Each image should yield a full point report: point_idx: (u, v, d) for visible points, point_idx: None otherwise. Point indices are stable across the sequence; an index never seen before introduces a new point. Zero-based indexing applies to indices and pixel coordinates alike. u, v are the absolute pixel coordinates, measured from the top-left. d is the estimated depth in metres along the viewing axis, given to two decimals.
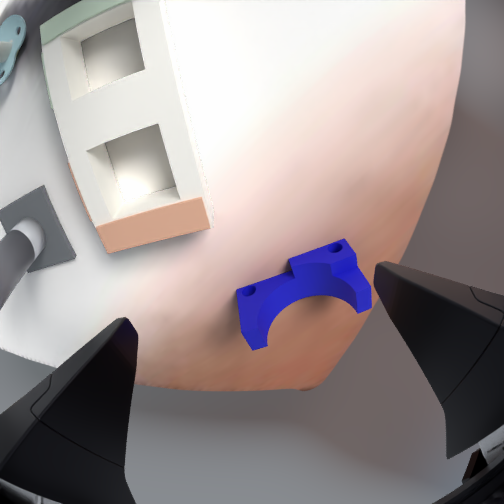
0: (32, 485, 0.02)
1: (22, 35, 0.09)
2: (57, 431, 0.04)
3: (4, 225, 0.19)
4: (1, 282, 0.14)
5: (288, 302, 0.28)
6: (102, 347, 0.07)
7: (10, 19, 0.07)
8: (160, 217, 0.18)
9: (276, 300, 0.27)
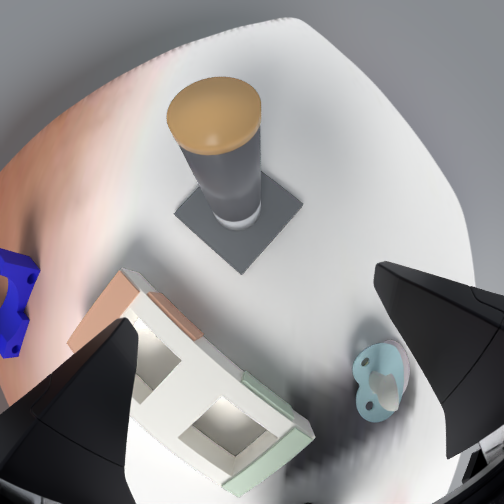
0: (32, 485, 0.02)
1: (360, 404, 0.19)
2: (57, 431, 0.04)
3: (285, 194, 0.23)
4: (200, 183, 0.15)
5: (9, 288, 0.22)
6: (102, 347, 0.07)
7: (389, 411, 0.18)
8: (95, 333, 0.18)
9: (13, 287, 0.21)
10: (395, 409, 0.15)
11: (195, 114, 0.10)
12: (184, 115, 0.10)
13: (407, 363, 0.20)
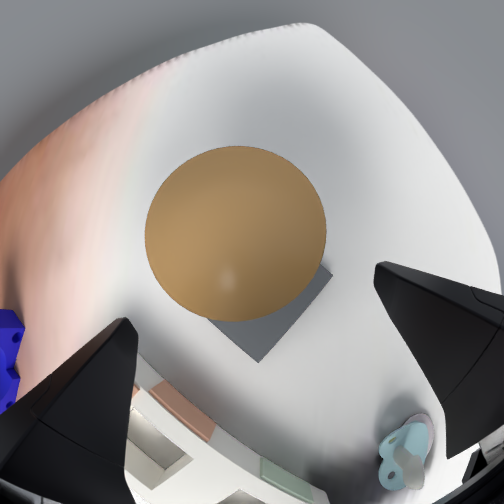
0: (32, 485, 0.02)
1: (382, 476, 0.14)
2: (57, 431, 0.04)
3: None
4: None
5: None
6: (102, 347, 0.07)
7: None
8: None
9: None
10: (419, 489, 0.10)
11: (199, 242, 0.06)
12: (177, 241, 0.06)
13: (432, 432, 0.15)
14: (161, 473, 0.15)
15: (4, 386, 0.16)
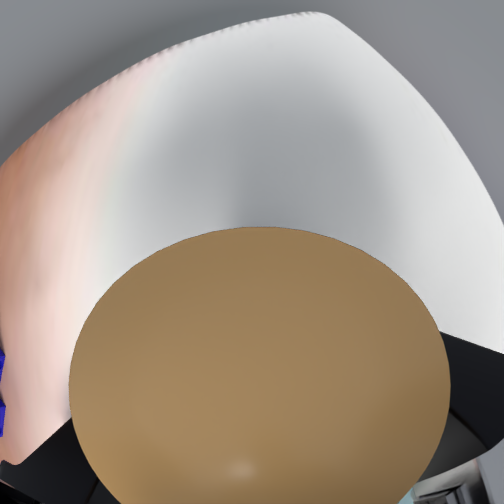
0: None
1: None
2: None
3: None
4: None
5: None
6: None
7: None
8: None
9: None
10: None
11: (185, 472, 0.02)
12: (138, 461, 0.02)
13: None
14: None
15: None
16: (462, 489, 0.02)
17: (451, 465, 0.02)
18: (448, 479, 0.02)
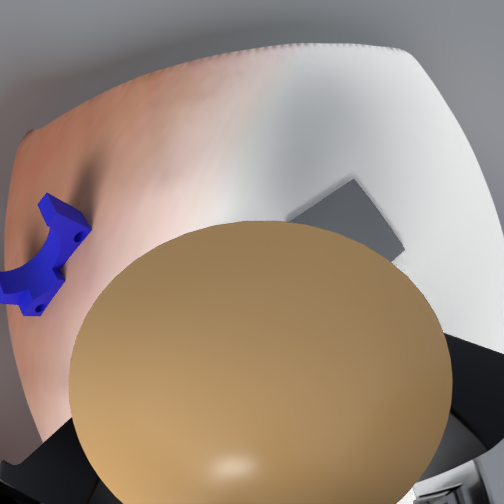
0: None
1: None
2: None
3: (392, 236, 0.22)
4: None
5: (48, 241, 0.22)
6: None
7: None
8: None
9: (55, 241, 0.22)
10: None
11: (186, 469, 0.02)
12: (138, 457, 0.02)
13: None
14: None
15: (43, 285, 0.21)
16: (462, 489, 0.02)
17: (451, 465, 0.02)
18: (448, 479, 0.02)
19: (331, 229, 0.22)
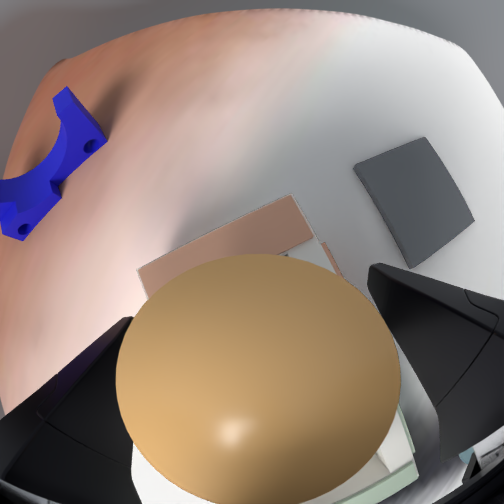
0: (39, 488, 0.02)
1: None
2: (64, 433, 0.04)
3: (463, 203, 0.16)
4: None
5: (53, 151, 0.18)
6: (109, 346, 0.07)
7: None
8: None
9: (60, 148, 0.17)
10: None
11: (204, 428, 0.03)
12: (169, 422, 0.03)
13: None
14: None
15: (34, 199, 0.17)
16: None
17: None
18: None
19: (405, 180, 0.17)
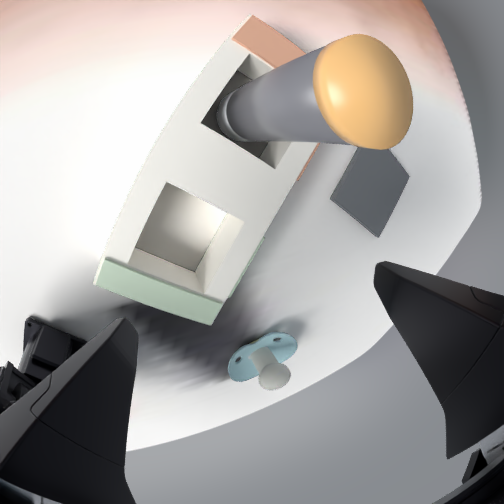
0: (32, 485, 0.02)
1: (239, 352, 0.25)
2: (57, 431, 0.04)
3: (384, 222, 0.26)
4: (263, 88, 0.10)
5: None
6: (102, 347, 0.07)
7: (235, 377, 0.25)
8: (279, 58, 0.14)
9: None
10: (269, 389, 0.21)
11: (362, 73, 0.06)
12: (356, 59, 0.06)
13: None
14: None
15: None
16: None
17: None
18: None
19: (378, 169, 0.24)
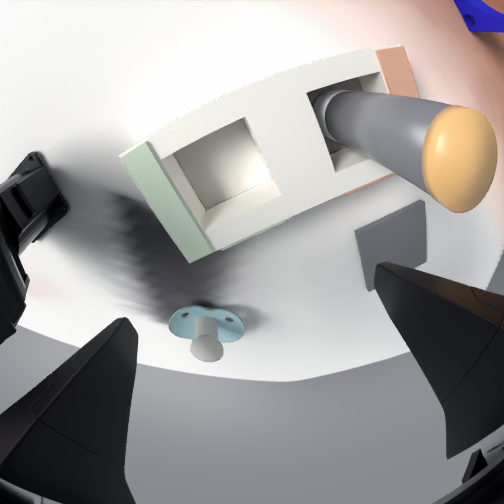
0: (32, 485, 0.02)
1: (191, 309, 0.25)
2: (57, 431, 0.04)
3: None
4: (381, 101, 0.10)
5: None
6: (102, 347, 0.07)
7: (172, 328, 0.25)
8: (399, 92, 0.13)
9: None
10: (196, 356, 0.22)
11: (469, 143, 0.06)
12: (471, 130, 0.06)
13: None
14: None
15: None
16: None
17: None
18: None
19: (407, 236, 0.24)
